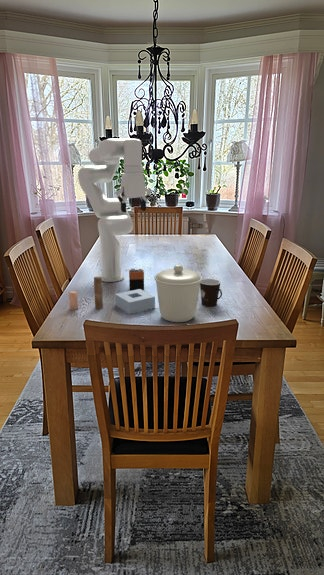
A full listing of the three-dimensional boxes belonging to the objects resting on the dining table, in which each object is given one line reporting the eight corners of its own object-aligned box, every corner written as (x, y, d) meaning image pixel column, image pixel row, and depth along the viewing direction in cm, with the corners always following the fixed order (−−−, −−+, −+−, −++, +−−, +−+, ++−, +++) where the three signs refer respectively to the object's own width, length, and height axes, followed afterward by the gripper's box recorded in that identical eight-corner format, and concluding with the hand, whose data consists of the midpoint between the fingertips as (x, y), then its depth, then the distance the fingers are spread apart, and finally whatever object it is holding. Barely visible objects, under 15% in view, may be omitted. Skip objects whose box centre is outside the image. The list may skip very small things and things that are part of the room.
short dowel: (68, 308, 163) (67, 292, 161) (76, 306, 165) (75, 290, 163) (71, 310, 161) (70, 294, 159) (79, 308, 163) (78, 292, 160)
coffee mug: (197, 300, 172) (198, 278, 169) (217, 300, 173) (218, 278, 170) (201, 310, 161) (202, 287, 158) (222, 310, 162) (224, 287, 159)
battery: (129, 288, 188) (129, 267, 185) (143, 287, 189) (143, 267, 186) (129, 291, 184) (129, 270, 181) (144, 290, 185) (143, 270, 182)
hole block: (115, 305, 167) (115, 293, 165) (140, 299, 173) (139, 288, 172) (129, 314, 157) (129, 302, 156) (155, 308, 164) (154, 296, 162)
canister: (194, 307, 164) (196, 258, 158) (206, 325, 147) (208, 270, 141) (151, 310, 162) (151, 259, 155) (157, 328, 145) (157, 272, 138)
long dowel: (94, 307, 164) (92, 277, 160) (101, 305, 166) (99, 276, 162) (97, 309, 162) (95, 279, 158) (104, 308, 163) (103, 278, 159)
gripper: (145, 169, 175) (146, 209, 180) (110, 170, 165) (111, 211, 171) (155, 170, 169) (155, 210, 174) (118, 170, 159) (120, 213, 165)
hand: (133, 211), depth 172 cm, fingers open, 9 cm apart
